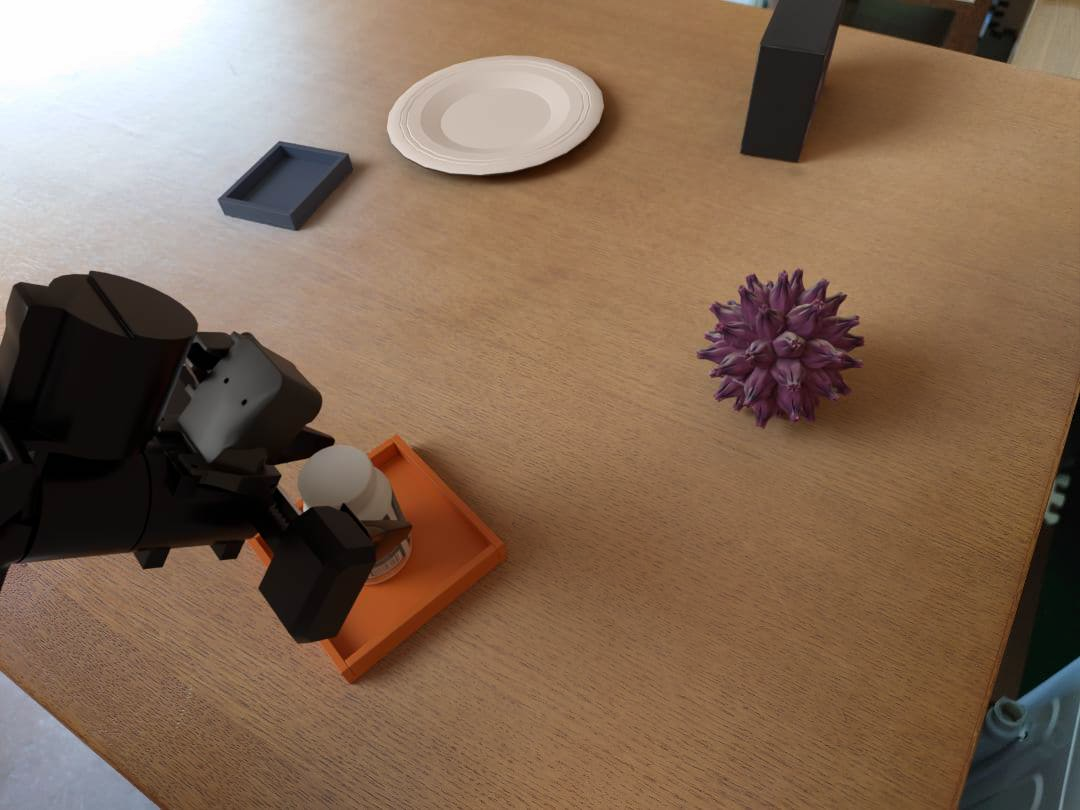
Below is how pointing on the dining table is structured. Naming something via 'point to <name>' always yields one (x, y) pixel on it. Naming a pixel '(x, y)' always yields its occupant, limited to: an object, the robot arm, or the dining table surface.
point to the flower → (781, 348)
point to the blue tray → (286, 185)
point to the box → (790, 76)
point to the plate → (495, 115)
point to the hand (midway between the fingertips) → (368, 485)
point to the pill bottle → (354, 496)
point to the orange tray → (410, 563)
